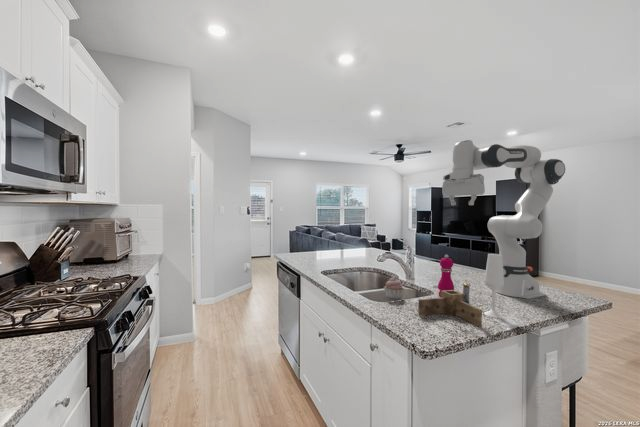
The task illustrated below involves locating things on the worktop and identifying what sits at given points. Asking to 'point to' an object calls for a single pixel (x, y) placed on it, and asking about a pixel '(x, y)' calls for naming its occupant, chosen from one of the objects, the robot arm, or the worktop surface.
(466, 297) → the hinge pin
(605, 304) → the worktop surface
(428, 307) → the hinge
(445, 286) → the pepper mill
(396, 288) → the cupcake
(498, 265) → the champagne flute
